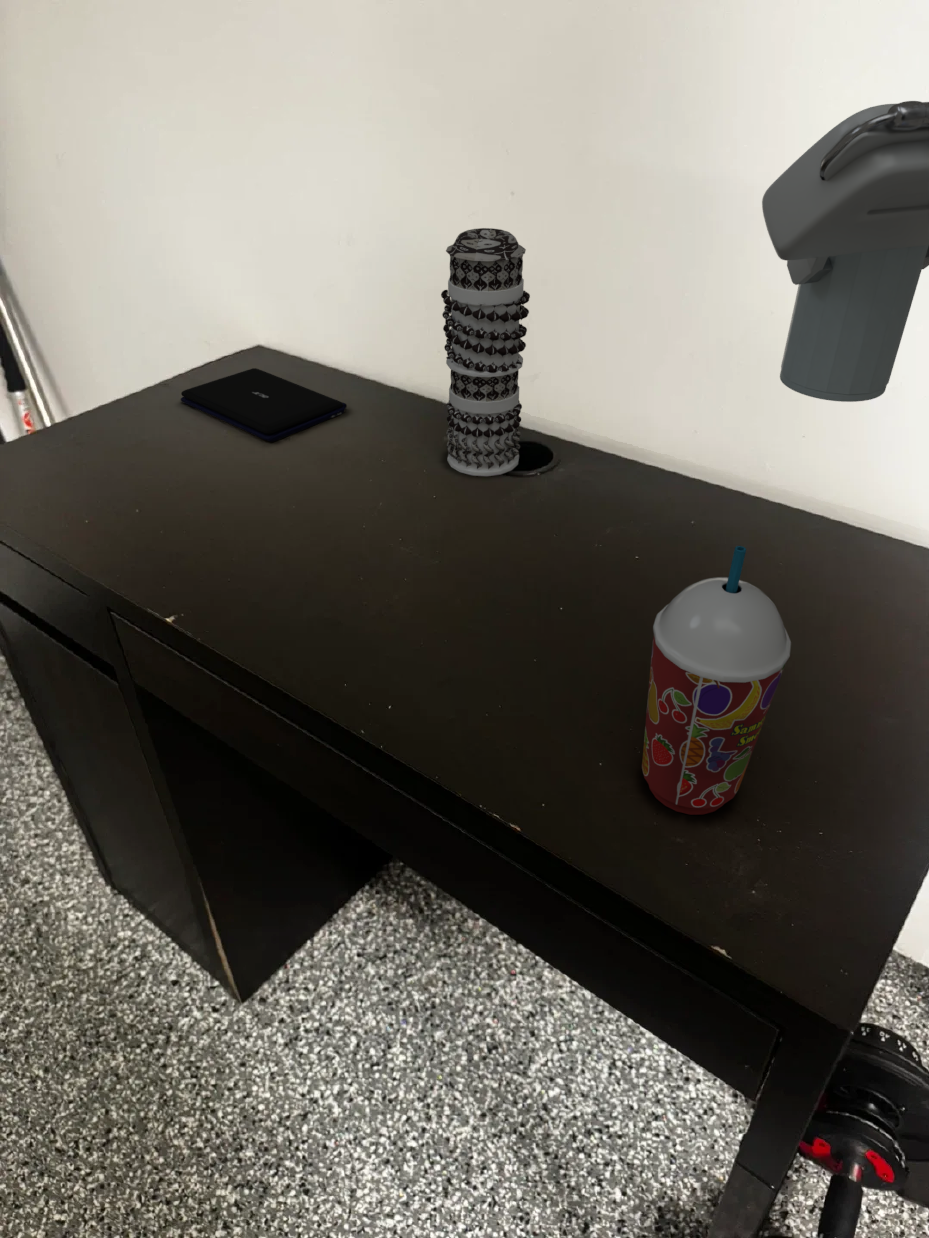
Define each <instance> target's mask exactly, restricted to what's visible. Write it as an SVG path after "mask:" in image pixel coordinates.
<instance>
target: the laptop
mask: <svg viewBox="0 0 929 1238" xmlns="http://www.w3.org/2000/svg"><path fill="white" fill-rule="evenodd" d="M181 396H182V397H181V398H180V401H181V402H182V403H184V404H186V405H188V406H190V407H192V408H194V409H197V410H199V411H201V412H203V413H205V414H208V415H210V416H212V417H214V418H216V419H219V420H221V421H222V422H225V423H227V424H229V425H232V426H233V427H235V428H238V429H240V430H242V431H244V432H247V433H248V434H251V435H253V436H255V437H257V438H260V439H262V440H264V441H267V442H271V443H273V442H277V441H279V440H281V439H283V438H287V437H288V436H292V435H293V434H296V433H299V432H301V431H303V430H306V429H308V428H310V427H314V426H316V425H319V424H320V423H323V422H325V421H328V420H331V419H333V418H335V417H337V416H339V415H343V414H344V413H345V410H346V408H347V403H345V402H343V401H340V400H338V399H335V398H332V397H330V396H328V395H325V394H323V393H320V392H317V391H315V390H313V389H311V388H307V387H304V386H303V385H300V384H298V383H295V382H292V381H291V380H288V379H285V378H282V377H280V376H277V375H275V374H272V373H269V372H268V371H265V370H262V369H259V368H257V367H255V368H253V367H252V368H249V369H246V370H244V371H240V372H237V373H233V374H231V375H228V376H224V377H221V378H218V379H215V380H212V381H209V382H205V383H203V384H200V385H199V384H198V385H197V386H193V387H190V388H187V389H184V390H183V391H181Z"/></svg>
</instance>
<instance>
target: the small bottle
mask: <svg viewBox="0 0 929 1238" xmlns="http://www.w3.org/2000/svg"><path fill="white" fill-rule="evenodd" d="M928 246H929V245H925V246H916V247H907V248H898V249H889V250H880V251H871V252H862V253H853V254H844V255H837V256H833V257H830V256H829V258H830V261H831V264H832V267H833V269H832V270H831V271H830V272H829V273H827V274H826V275H825V276H823V277H821V279H820V280H819V281H818V282H813V283H806V284H798V285H797V292H796V296H795V301H794V304H793V310H792V315H791V318H790V324H789V329H788V333H787V338H786V342H785V347H784V351H783V355H782V361H781V365H780V373H779V379H780V381H781V383H782V384H783V385H784V386H785V387H786V388H788V389H790V390H792V391H794V392H796V393H798V394H801V395H804V396H807V397H810V398H813V399H818V400H824V401H830V402H842V403H846V402H847V403H854V402H856V403H857V402H865V401H872V400H874V399H877V398H879V397H881V396H882V395H883V394H884V393H885V392H886V389H887V387H888V386H887V385H888V384H889V383H890V380H891V377H892V372H893V370H894V366H895V362H896V358H897V354H898V352H899V348H900V346H901V345H900V344H901V342H902V338H903V335H904V332H905V328H906V325H907V324H906V323H907V321H908V317H909V315H910V310H911V307H912V304H913V301H914V297H915V294H916V290H917V287H918V284H919V280H920V277H921V274H922V270H923V269H922V267H923V263H924V260H925V256H926V253H927V250H928Z"/></svg>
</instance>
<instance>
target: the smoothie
mask: <svg viewBox="0 0 929 1238" xmlns="http://www.w3.org/2000/svg"><path fill="white" fill-rule="evenodd" d="M746 554H747V548H746V547H745V546H744V545H743V546H742V545H736V546H735V547H734V550H733V554H732V559H731V563H730V564H731V565H730V567H729V568H730V569H729V573H728V576H715V577H709V578H703V579H700V580H698V581H697V582H694V583H692V584H690V585H687V586H686V587H685V588H683V589H682V590H681V591H680V592H679V593H677V594H676V595H675V597H673V598H672V599H671V601H670V602H669V603H668V604H666V605H665V606H664V607H663V608H662V609H661V610H660V611H659V612H658V613H657V614H656V616H655V617H654V622H653V625H652V633H653V637H652V646H651V658H650V667H649V669H650V670H649V681H648V690H647V691H648V692H647V702H646V703H647V704H646V716H645V724H644V725H645V727H644V736H643V737H644V738H643V750H642V759H641V760H642V761H641V769H642V774H643V778H644V780H645V781H646V783H647V784H648V788H649V790H650V792H651V793H652V794H653V796H654V798H655V799H656V800H658V801H659V802H660V803H661V804H662V805H663V806H664V807H667V808H669V809H671V810H673V811H674V812H676V813H677V812H678V813H682V814H686V815H690V816H691V815H692V816H693V815H695V816H698V815H701V816H702V815H706V814H711V813H713V812H716V811H717V810H719V809H720V808H722V807H723V806H724V805H725V804H726V803H728V802H729V801H731V800H733V799H734V798H735V796H736V794H737V793H738V792H739V790H740V787H741V784H742V781H743V779H744V776H745V774H746V770H747V768H748V766H749V762H750V760H751V757H752V755H753V752H754V750H755V747H756V744H757V742H758V739H759V736H760V733H761V731H762V728H763V725H764V722H765V720H766V717H767V714H768V713H769V712H768V711H769V709H770V706H771V704H772V701H773V699H774V696H775V694H776V691H777V689H778V685H779V683H780V680H781V677H782V675H783V672H784V669H785V667H786V663H787V661H789V658H790V657H791V650H792V642H791V641H792V640H791V638H790V637H789V634H788V631H787V629H786V627H785V625H784V621H783V618H782V616H781V614H780V611H779V610H778V608H777V606H776V605H775V603H774V601H772V600H771V598H770V597H769V596H768V595H767V594H766V593H765V592H764V591H763V590H762V589H760V588H759V587H757V586H756V585H754V584H752V583H750V582H748V581H745V580H743V579H741V575H742V572H743V571H742V570H743V566H744V561H745V557H746Z"/></svg>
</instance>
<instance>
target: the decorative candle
mask: <svg viewBox="0 0 929 1238" xmlns="http://www.w3.org/2000/svg"><path fill="white" fill-rule="evenodd" d="M526 251H527V249H526V248H525V247H523V246H522V245H521V244H520V243H519V242H518V240H517V238H516V236H515V235H514V234H513V233H511V232H510V231H507V230H504V229H501V228H493V227H491V228H489V227H481V228H472V229H467V230H464V231H462V232H460V233H459V234H458V235H457V236H456V239H455V240H454V242H453V244H450V245H448V246H447V248H446V250H445V252H446V253H447V254H448V255H449V278H448V280H447V289H444V290H442V291H441V294H440V296H441V298H442V299H443V300H442V301H443V304H444V307H443V312H442V314H441V315H442V318H443V319H444V320H445V321H444V325H443V327H442V329H443V332H444V336H445V338H446V340H445V342H446V344H445V345H444V350H445V352H446V355H447V356H446V357H445V359H446V362H445V364H446V366H447V367H448V369H450V385H449V389H448V402H447V403H446V406H445V407H446V409H447V413H448V415H447V416H446V421H447V425H448V426H449V427H448V428H447V430H446V432H445V433H446V434H445V435H446V438H447V443H446V450H447V452H448V453H447V463H448V464H449V466H450V467H451V468H452V469H453V470H456V471H457V472H458V473H462V474H466V475H469V476H474V477H476V476H478V477H491V476H499V475H503V474H506V473H508V472H511V471H513V470H514V469H515V468H516V467H517V466H518V465H519V461H520V460H519V459H520V451H519V450H520V449H521V445H520V444H519V443H520V441H521V439H520V437H521V436H522V433H521V432H520V430H519V429H520V428H519V427H520V426H521V422H522V417H521V416H520V414H521V412H522V408H523V405H522V403H520V386H519V382H518V381H519V374H520V373H519V370H521V368H523V365H524V358H523V356H522V355H521V354H520V353H522V352H523V351H524V350H525V348H526V347H527V344H526V342H525V341H523V339H522V338H524V337H526V335H527V332H528V328H527V327H526V326H524V325H523V323H520V321H522V320H523V319H526V318H527V317H528V315H529V314H530V310H529V309H528V308H527V307H525V304H527V303H529V301H530V298H531V295H530V293H529V292H527V291H526V290H524V287H525V286H524V285H525V284H524V283H525V279H524V278H523V269H524V268H523V267H524V260H523V257H524V255H525V254H526Z"/></svg>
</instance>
